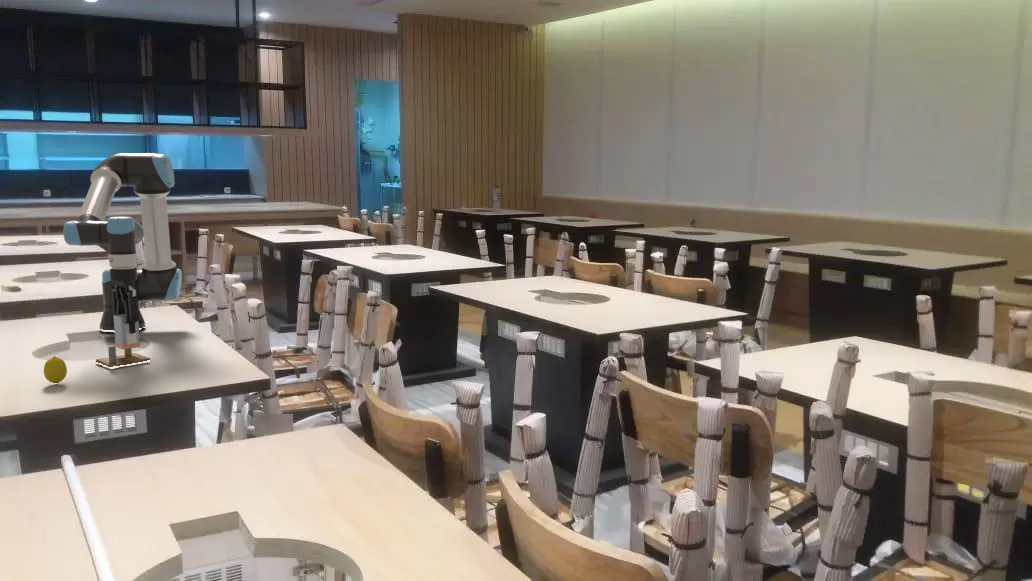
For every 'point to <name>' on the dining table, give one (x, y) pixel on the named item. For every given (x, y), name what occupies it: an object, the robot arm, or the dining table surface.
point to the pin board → (121, 358)
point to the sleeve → (124, 332)
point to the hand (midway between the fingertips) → (127, 341)
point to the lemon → (55, 370)
